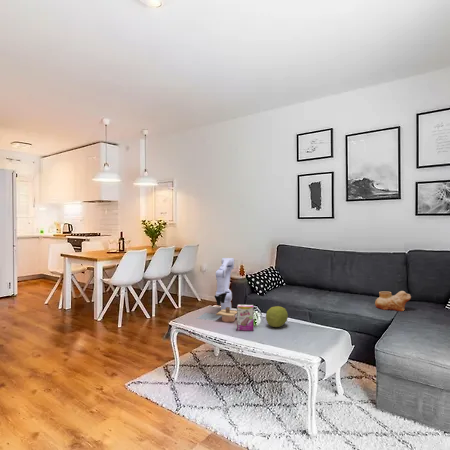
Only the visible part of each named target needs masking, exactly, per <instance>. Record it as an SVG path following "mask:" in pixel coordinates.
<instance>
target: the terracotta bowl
mask: <svg viewBox="0 0 450 450" xmlns="http://www.w3.org/2000/svg"><path fill="white" fill-rule="evenodd" d="M221 320H222V322H224V323H225V322H226V323H231V322H232V323H233V322H235V321H236V315H235V316H234V317H228V316H222V317H221Z"/></svg>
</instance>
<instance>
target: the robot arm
mask: <svg viewBox="0 0 450 450" xmlns="http://www.w3.org/2000/svg"><path fill="white" fill-rule="evenodd" d="M220 262H221V265H220V266H219V268H218V269H217V270H216V271H215V280H216V291H215V295H214V299H215V301H216V305H217V306H220V311H221V310H222V309H226V307H230V310H232V302H231V301H232V299H233V292H232V290H231V289H230V284H231V283H230V282H231V276H232V275H231V274H232V270H234V267H235V258H234V257H222V258H221V261H220Z"/></svg>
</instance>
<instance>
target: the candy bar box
mask: <svg viewBox="0 0 450 450" xmlns="http://www.w3.org/2000/svg"><path fill="white" fill-rule="evenodd" d="M254 310H255V307H254V304H237V306H236V311H237V314H236V331H240V332H241V331H243V332H244V331H247V332H254V328H255V327H254V325H255V324H254V322H255V321H254V320H255V319H254V317H255V316H254V313H255V311H254Z"/></svg>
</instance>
